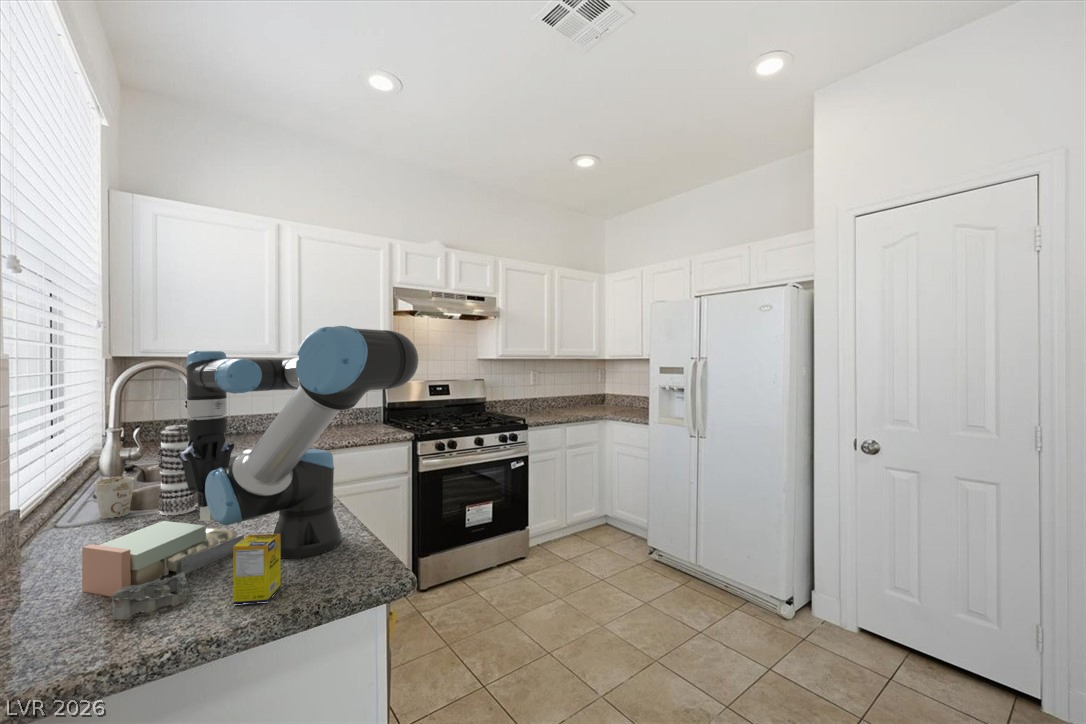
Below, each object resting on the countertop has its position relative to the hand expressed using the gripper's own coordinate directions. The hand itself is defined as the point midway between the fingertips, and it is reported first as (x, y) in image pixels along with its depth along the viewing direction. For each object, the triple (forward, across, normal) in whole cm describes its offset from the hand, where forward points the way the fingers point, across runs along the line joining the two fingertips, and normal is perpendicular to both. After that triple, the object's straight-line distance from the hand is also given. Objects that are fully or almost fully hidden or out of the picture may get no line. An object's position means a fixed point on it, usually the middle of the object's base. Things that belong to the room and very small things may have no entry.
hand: (208, 519), depth 109 cm
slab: (+3, -12, +2) cm, 12 cm away
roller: (+8, -14, +1) cm, 16 cm away
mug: (+7, +17, +50) cm, 53 cm away
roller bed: (+8, -4, +1) cm, 9 cm away
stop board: (+8, -20, +2) cm, 22 cm away
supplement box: (+8, -16, -27) cm, 33 cm away
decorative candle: (+7, +23, +34) cm, 42 cm away
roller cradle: (+8, -15, +2) cm, 17 cm away
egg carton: (+8, -22, -10) cm, 25 cm away
